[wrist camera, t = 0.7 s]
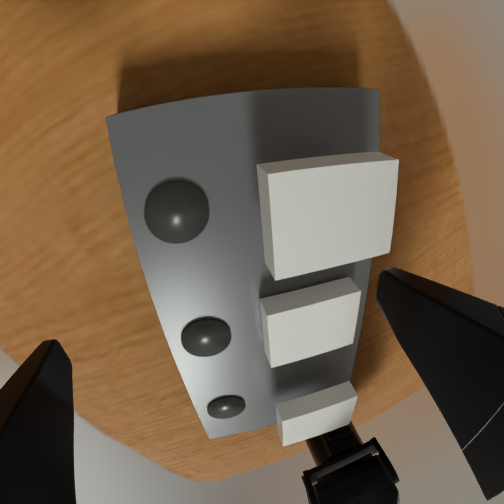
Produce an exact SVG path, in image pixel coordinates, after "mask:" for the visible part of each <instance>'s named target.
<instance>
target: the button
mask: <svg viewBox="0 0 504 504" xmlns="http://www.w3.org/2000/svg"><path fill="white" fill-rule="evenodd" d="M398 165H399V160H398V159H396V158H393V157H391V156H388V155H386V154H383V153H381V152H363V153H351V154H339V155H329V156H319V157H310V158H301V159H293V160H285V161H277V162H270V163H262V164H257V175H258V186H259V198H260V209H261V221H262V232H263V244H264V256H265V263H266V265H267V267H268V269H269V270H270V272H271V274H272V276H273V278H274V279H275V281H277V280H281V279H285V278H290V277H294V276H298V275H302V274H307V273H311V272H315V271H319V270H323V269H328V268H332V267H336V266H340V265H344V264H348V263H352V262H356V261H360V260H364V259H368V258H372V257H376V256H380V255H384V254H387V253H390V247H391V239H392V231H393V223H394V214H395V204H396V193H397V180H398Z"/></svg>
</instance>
